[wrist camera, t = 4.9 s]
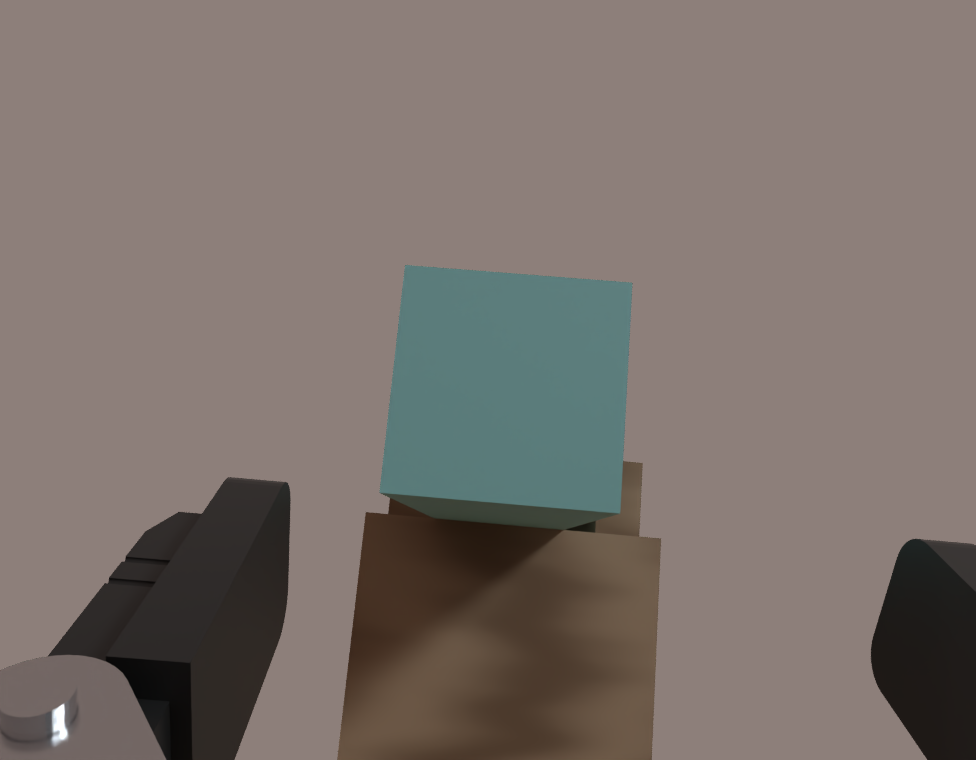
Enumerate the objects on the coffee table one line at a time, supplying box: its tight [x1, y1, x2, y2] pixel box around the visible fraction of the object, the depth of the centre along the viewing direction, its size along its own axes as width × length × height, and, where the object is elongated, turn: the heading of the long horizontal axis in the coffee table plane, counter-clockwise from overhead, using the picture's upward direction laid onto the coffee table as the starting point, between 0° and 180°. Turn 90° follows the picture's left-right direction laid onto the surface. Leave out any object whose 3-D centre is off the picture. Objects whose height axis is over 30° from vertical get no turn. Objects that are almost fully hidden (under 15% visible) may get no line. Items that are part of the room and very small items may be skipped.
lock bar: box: [380, 265, 632, 530], centre depth 25 cm, size 4×26×4 cm, turn 179°
